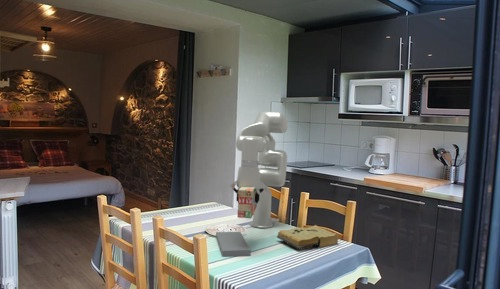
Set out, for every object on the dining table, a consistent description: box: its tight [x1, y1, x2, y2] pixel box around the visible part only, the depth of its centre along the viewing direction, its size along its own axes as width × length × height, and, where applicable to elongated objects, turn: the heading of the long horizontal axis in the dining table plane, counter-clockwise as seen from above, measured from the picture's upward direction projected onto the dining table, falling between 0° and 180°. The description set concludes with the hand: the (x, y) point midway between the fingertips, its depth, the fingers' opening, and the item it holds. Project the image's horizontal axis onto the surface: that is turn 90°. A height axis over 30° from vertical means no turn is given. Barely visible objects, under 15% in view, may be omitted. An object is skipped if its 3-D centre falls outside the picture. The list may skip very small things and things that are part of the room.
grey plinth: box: [215, 231, 252, 258], centre depth 174 cm, size 12×26×2 cm, turn 11°
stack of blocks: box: [236, 187, 257, 219], centre depth 175 cm, size 21×6×12 cm, turn 173°
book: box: [276, 224, 339, 250], centre depth 182 cm, size 25×17×6 cm
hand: (247, 202), depth 174 cm, fingers closed on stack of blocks, 7 cm apart
